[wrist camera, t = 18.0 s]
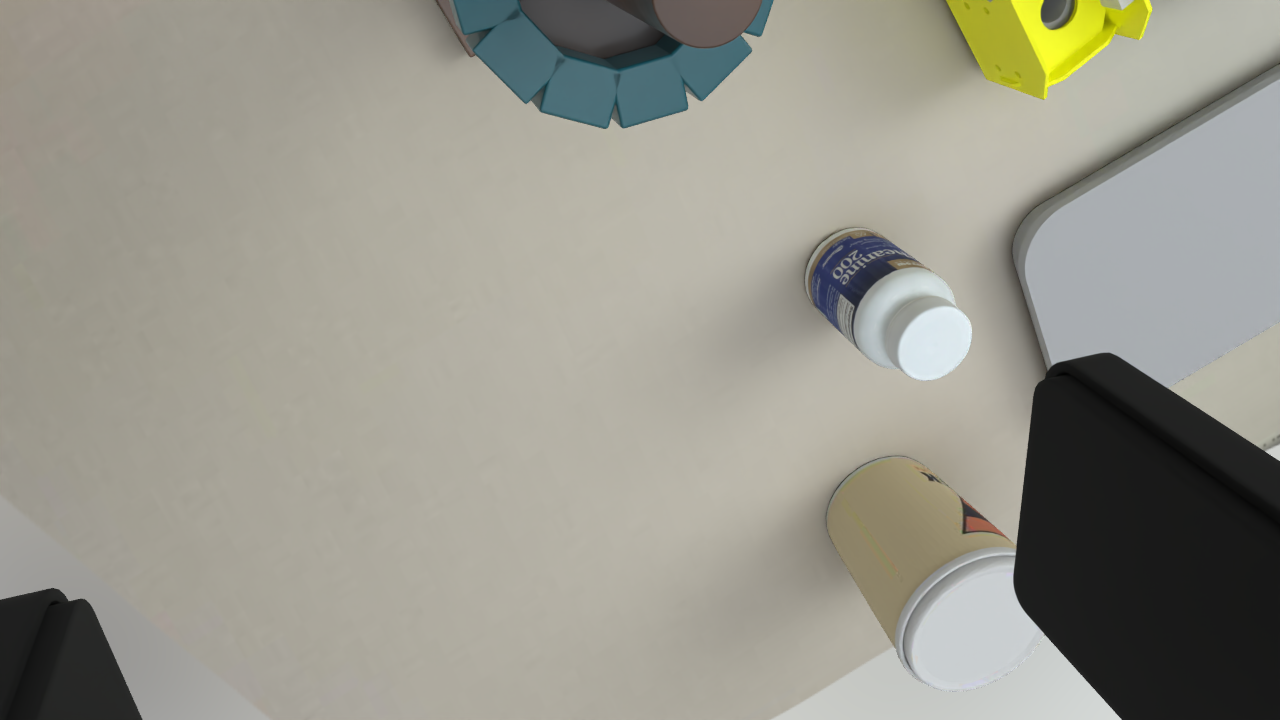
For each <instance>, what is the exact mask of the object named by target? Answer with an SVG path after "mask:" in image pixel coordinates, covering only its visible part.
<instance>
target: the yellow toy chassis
mask: <svg viewBox="0 0 1280 720" xmlns="http://www.w3.org/2000/svg"><path fill="white" fill-rule="evenodd" d="M946 1H947V3H948V5H949V7H950V9H951V11H952V13H953V15H954V17H955V19H956V21H957V23H958V25H959V27H960V29H961V31H962V33H963V34H964V36H965V38H966V40H967V42H968V44H969V46H970V48H971V50H972V52H973V54H974V56H975V58H976V60H977V62H978V64H979V66H980V68H981V70H982V72H983V74H984V76H985V77H986V79H987V80H990V81H993V82H995V83H998V84H1001V85H1004V86H1007V87H1009V88H1012V89H1015V90H1018V91H1021V92H1023V93H1026V94H1029V95H1032V96H1034V97H1037V98H1040V99H1043V100H1044V99H1045V98H1046V97H1047V92H1048V87H1049V86H1051V85H1054V84H1056V83H1058V82H1060V81H1063V80H1065V79H1066V78H1067V77H1069V76H1070V75H1071V74H1072V73H1073V72H1075V71H1076V70H1077V69H1078V68H1080V67H1081V66H1082V65H1083V64H1085V63H1086V62H1087V61H1088V60H1090V59H1091V58H1092V57H1093V56H1095V55H1096V54H1097V53H1098V52H1100V51H1101V50H1102V49H1103V48H1105V47H1106V46H1107V45H1108V44H1109V43H1110V41H1111V40H1112V38H1113V36H1114V34H1117V35H1121V36H1125V37H1129V38H1133V39H1137V40H1139V39H1141V38H1142V37H1143V34H1144V31H1145V29H1146V26H1147V23H1148V20H1149V17H1150V15H1151V12H1152V6H1151V4H1150V1H1149V0H946Z"/></svg>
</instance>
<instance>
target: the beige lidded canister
mask: <svg viewBox="0 0 1280 720" xmlns="http://www.w3.org/2000/svg"><path fill="white" fill-rule="evenodd" d="M826 523H827V530H828V533H829V536H830V538H831V540H832V542H833V544H834V546H835V548H836V549H837V551H838V553H839V555H840V557H841V558H842V560H843V562H844V563H845V565H846V567H847V569H848V570H849V572H850V574H851V575H852V577H853V579H854V580H855V582H856V584H857V586H858V587H859V589H860V591H861V592H862V594H863V596H864V597H865V599H866V601H867V602H868V604H869V606H870V608H871V609H872V611H873V613H874V614H875V616H876V618H877V619H878V621H879V623H880V624H881V626H882V628H883V629H884V631H885V633H886V634H887V636H888V638H889V639H890V641H891V642H892V644H893V645H894V647H895V649H896V651H897V654H898V657H899V659H900V661H901V662H902V664H903V666H904V668H905V669H906V670H907V671H908V672H909V673H910V674H911V675H912V676H913V677H914V678H915V679H917V680H919V681H920V682H922V683H925V684H927V685H929V686H931V687H933V688H935V689H939V690H943V691H952V692H956V691H966V690H972V689H975V688H979V687H982V686H985V685H988V684H990V683H992V682H994V681H996V680H998V679H1000V678H1002V677H1004V676H1005V675H1007V674H1008V673H1010V672H1011V671H1013V670H1014V669H1015V668H1017V667H1018V666H1019V665H1020V664H1022V663H1023V662H1024V661H1025V660H1026V659H1027V658H1028V657H1029V656H1030V655H1031V654H1032V653H1033V651H1034V650H1035V649H1036V648H1037V647H1038V645H1039V644H1040V642H1041V641H1042V639H1043V638H1044V636H1045V634H1044V633H1043V632H1042V631H1041V630H1040V629H1039V627H1038V626H1037V625H1036V624H1035V623H1034V622H1033V621H1032V620H1031V619H1030V617H1029V616H1028V615H1027V614H1026V613H1025V611H1024V610H1023V609H1022V607H1021V605H1020V604H1019V602H1018V600H1017V597H1016V594H1015V590H1014V585H1013V573H1014V564H1015V556H1016V547H1017V546H1016V545H1015V544H1014V543H1013V542H1012V541H1010V540H1009V539H1008V538H1007V537H1006V536H1005V535H1004V534H1003V533H1002V532H1000V531H999V530H998V529H997V528H996V527H995V526H994V525H992V524H991V523H990V522H989V521H988V520H987V519H986V518H984V517H983V516H982V515H981V514H980V513H979V512H978V511H976V510H975V509H974V508H973V507H972V506H971V505H970V504H968V503H967V502H966V501H965V500H964V499H963V498H961V497H960V496H959V495H958V494H957V493H956V492H955V491H953V490H952V489H951V488H950V487H949V486H948V485H946V484H945V483H944V482H943V481H942V480H941V479H940V478H938V477H937V476H936V475H935V474H934V473H932V472H931V471H930V470H929V469H927V468H926V467H925V466H924V465H922V464H921V463H919V462H917V461H915V460H913V459H910V458H907V457H899V456H892V457H884V458H880V459H877V460H874V461H872V462H869V463H867V464H865V465H863V466H862V467H860V468H858V469H857V470H856V471H854V472H853V473H852V474H850V475H849V476H848V477H847V478H846V479H845V480H844V481H843V482H842V483H841V485H840V486H839V487H838V488H837V490H836V491H835V493H834V495H833V497H832V498H831V501H830V503H829V506H828V510H827V517H826Z"/></svg>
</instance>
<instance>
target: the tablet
mask: <svg viewBox="0 0 1280 720" xmlns="http://www.w3.org/2000/svg"><path fill="white" fill-rule="evenodd" d="M1012 253H1013V260H1014V264H1015V267H1016V270H1017V274H1018V277H1019V280H1020V283H1021V287H1022V290H1023V293H1024V296H1025V300H1026V303H1027V306H1028V309H1029V313H1030V316H1031V319H1032V322H1033V325H1034V329H1035V332H1036V335H1037V338H1038V342H1039V345H1040V348H1041V351H1042V355H1043V358H1044V361H1045V364H1046V368H1047V371H1048V370H1049V369H1050V367H1051V366H1052V365H1054V364H1056V363H1058V362H1062V361H1066V360H1071V359H1075V358H1080V357H1084V356H1089V355H1093V354H1098V353H1108V352H1110V353H1112V354H1114V355H1117V356H1119V357H1120V358H1122V359H1123V360H1125V361H1126V362H1128V363H1129V364H1131V365H1132V366H1134V367H1136V368H1137V369H1139V370H1140V371H1142V372H1143V373H1145V374H1146V375H1148V376H1149V377H1151V378H1152V379H1154V380H1156V381H1157V382H1159V383H1160V384H1162V385H1163V386H1165V387H1166V388H1169V387H1170V386H1172V385H1174V384H1176V383H1177V382H1179V381H1181V380H1182V379H1184V378H1186V377H1187V376H1189V375H1191V374H1192V373H1194V372H1196V371H1198V370H1199V369H1201V368H1203V367H1204V366H1206V365H1208V364H1209V363H1211V362H1213V361H1214V360H1216V359H1218V358H1220V357H1221V356H1223V355H1225V354H1226V353H1228V352H1230V351H1231V350H1233V349H1235V348H1236V347H1238V346H1240V345H1242V344H1243V343H1245V342H1247V341H1248V340H1250V339H1252V338H1253V337H1255V336H1257V335H1258V334H1260V333H1262V332H1264V331H1265V330H1267V329H1269V328H1270V327H1272V326H1274V325H1275V324H1277V323H1279V322H1280V64H1278V65H1276V66H1275V67H1273V68H1271V69H1270V70H1268V71H1266V72H1265V73H1263V74H1261V75H1259V76H1258V77H1256V78H1254V79H1253V80H1251V81H1249V82H1248V83H1246V84H1244V85H1242V86H1241V87H1239V88H1237V89H1236V90H1234V91H1232V92H1231V93H1229V94H1227V95H1225V96H1224V97H1222V98H1220V99H1219V100H1217V101H1215V102H1214V103H1212V104H1210V105H1208V106H1207V107H1205V108H1203V109H1202V110H1200V111H1198V112H1197V113H1195V114H1193V115H1191V116H1190V117H1188V118H1186V119H1185V120H1183V121H1181V122H1180V123H1178V124H1176V125H1174V126H1173V127H1171V128H1169V129H1168V130H1166V131H1164V132H1163V133H1161V134H1159V135H1157V136H1156V137H1154V138H1152V139H1151V140H1149V141H1147V142H1146V143H1144V144H1142V145H1140V146H1139V147H1137V148H1135V149H1134V150H1132V151H1130V152H1129V153H1127V154H1125V155H1124V156H1122V157H1120V158H1118V159H1117V160H1115V161H1113V162H1112V163H1110V164H1108V165H1107V166H1105V167H1103V168H1101V169H1100V170H1098V171H1096V172H1095V173H1093V174H1091V175H1090V176H1088V177H1086V178H1084V179H1083V180H1081V181H1079V182H1078V183H1076V184H1074V185H1073V186H1071V187H1069V188H1067V189H1066V190H1064V191H1062V192H1061V193H1059V194H1057V195H1056V196H1054V197H1052V198H1050V199H1049V200H1047V201H1045V202H1044V203H1042V204H1040V205H1039V206H1037V207H1036V208H1035V209H1034V210H1032V211H1031V212H1030V213H1029V214H1028V215H1027V216H1026V218H1025V219H1024V220H1023V222H1022V223H1021V225H1020V226H1019V228H1018V230H1017V233H1016V235H1015V238H1014V242H1013V249H1012Z"/></svg>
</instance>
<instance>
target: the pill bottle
mask: <svg viewBox="0 0 1280 720" xmlns="http://www.w3.org/2000/svg"><path fill="white" fill-rule="evenodd" d="M805 287H806V292H807V295H808V297H809V299H810V301H811V303H812V304H813V305H814V306H815V308H816V309H817V310H818V311H819V312H820V313H821V314H822V315H823V316H824V317H825V318H826V319H827V320H828V321H829V322H830V323H831V324H833V325H834V326H835V327H836V328H837V329H838V330H839V331H840V332H841V333H842V334H843V335H844V336H845V337H846V338H847V339H848V340H849V341H850V342H851V343H852V344H853V345H854V346H855V347H856V348H857V349H858V350H859V351H861V353H862V354H863V355H864V356H866V357H867V358H868V359H869V360H871V361H872V362H874V363H875V364H877V365H879V366H882V367H885V368H890V369H900V370H901V371H903V372H904V373H905V374H906V375H908V376H909V377H911V378H913V379H916V380H921V381H930V380H935V379H938V378H941V377H943V376H944V375H946V374H948V373H950V372H951V371H952V370H954V369H955V368H956V367H957V366H958V365H959V364H960V363H961V361H962V360H963V359H964V357H965V356H966V354H967V352H968V350H969V347H970V344H971V339H972V328H971V324H970V321H969V319H968V318H967V316H966V315H965V314H964V313H963V312H962V311H961V310H960V309H959V308H957V307H956V305H955V299H954V296H953V293H952V291H951V289H950V288H949V286H948V285H947V284H946V283H945V281H944V280H943V279H941V278H940V277H939V276H938V275H937V274H935V273H934V272H933V271H931V270H930V269H928V268H926V267H925V266H924V265H922V264H921V263H919V262H918V261H917V260H916V259H914V258H913V257H912V256H910V255H908V254H907V253H905V252H904V251H903V250H901V249H900V248H898V247H897V246H896V245H894V244H893V243H891V242H890V241H889V240H887V239H886V238H884V237H883V236H881V235H880V234H878V233H876V232H874V231H872V230H869V229H865V228H851V229H845V230H842V231H840V232H837V233H835V234H833V235H832V236H830V237H829V238H828V239H826V240H825V241H823V242H822V243H821V244H820V245H819V246H818V248H817V249H816V250H815V252H814V253H813V255H812V257H811V259H810V261H809V263H808V266H807V269H806V274H805Z"/></svg>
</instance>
